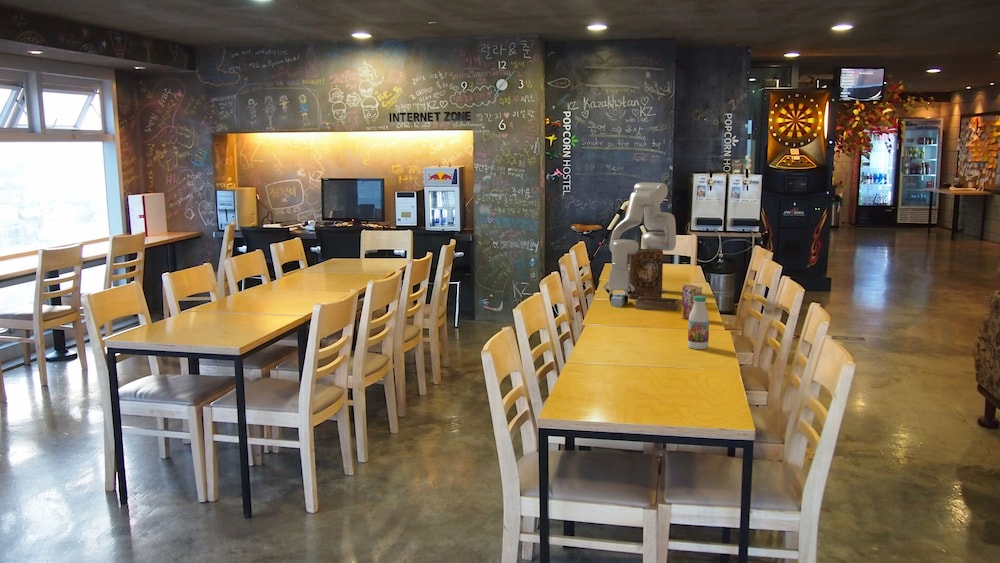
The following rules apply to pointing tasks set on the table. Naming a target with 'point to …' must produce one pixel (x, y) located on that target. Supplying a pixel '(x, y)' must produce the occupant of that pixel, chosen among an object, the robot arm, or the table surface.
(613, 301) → the grey rectangular block
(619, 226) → the robot arm
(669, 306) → the frame
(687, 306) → the candy box
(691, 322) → the milk bottle
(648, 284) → the book
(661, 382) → the table surface
